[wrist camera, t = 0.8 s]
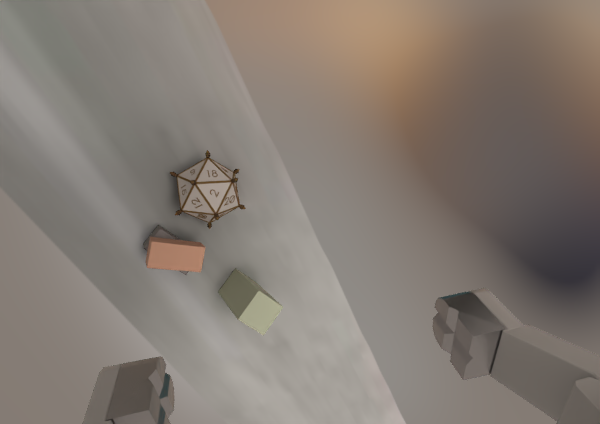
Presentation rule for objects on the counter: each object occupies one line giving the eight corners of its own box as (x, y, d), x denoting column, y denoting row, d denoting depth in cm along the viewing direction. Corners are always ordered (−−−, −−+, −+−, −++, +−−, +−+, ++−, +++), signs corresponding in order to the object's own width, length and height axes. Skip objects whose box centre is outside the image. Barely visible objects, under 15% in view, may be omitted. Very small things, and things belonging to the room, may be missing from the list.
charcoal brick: (143, 243, 46) (144, 249, 43) (158, 224, 46) (160, 228, 44) (182, 268, 48) (185, 275, 46) (196, 250, 49) (200, 255, 46)
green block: (217, 291, 51) (238, 319, 42) (235, 268, 51) (258, 290, 43) (239, 305, 52) (263, 335, 44) (256, 282, 53) (283, 307, 44)
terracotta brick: (145, 261, 43) (147, 267, 41) (150, 236, 43) (151, 241, 41) (196, 265, 46) (200, 272, 43) (200, 242, 46) (205, 247, 43)
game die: (205, 175, 52) (257, 151, 46) (213, 234, 50) (268, 216, 45) (147, 165, 44) (202, 135, 39) (155, 234, 43) (213, 212, 37)
